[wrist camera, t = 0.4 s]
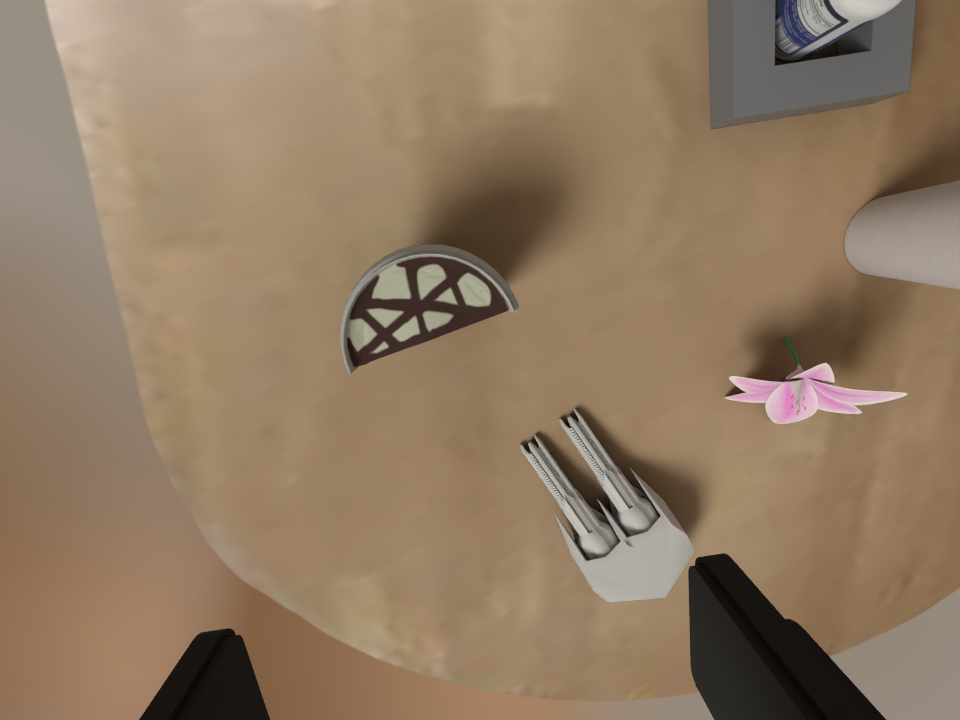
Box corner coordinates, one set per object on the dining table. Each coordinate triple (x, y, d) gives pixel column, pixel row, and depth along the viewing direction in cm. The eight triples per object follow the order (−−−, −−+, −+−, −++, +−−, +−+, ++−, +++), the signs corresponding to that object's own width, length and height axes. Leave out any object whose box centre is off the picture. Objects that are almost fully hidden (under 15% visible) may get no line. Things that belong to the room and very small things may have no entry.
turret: (587, 391, 43) (598, 401, 38) (697, 553, 44) (721, 583, 40) (501, 447, 44) (502, 464, 39) (612, 604, 45) (625, 638, 41)
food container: (481, 222, 36) (490, 213, 27) (506, 294, 38) (523, 309, 28) (341, 276, 37) (299, 286, 27) (371, 344, 38) (341, 377, 29)
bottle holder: (706, -67, 32) (731, -98, 29) (883, -95, 32) (925, -129, 29) (711, 129, 35) (733, 118, 32) (872, 103, 35) (909, 90, 33)
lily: (687, 343, 41) (722, 419, 34) (818, 274, 35) (888, 349, 29) (736, 403, 46) (775, 478, 40) (856, 351, 41) (923, 429, 34)
